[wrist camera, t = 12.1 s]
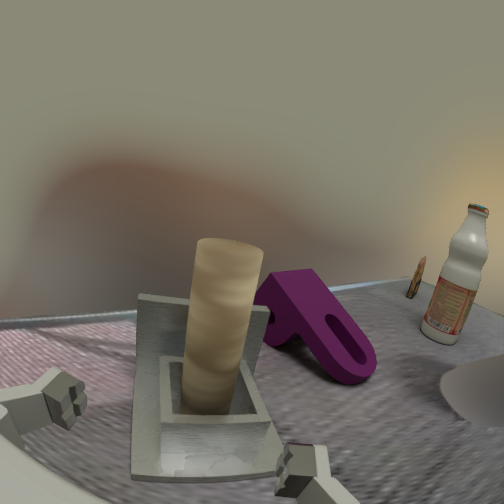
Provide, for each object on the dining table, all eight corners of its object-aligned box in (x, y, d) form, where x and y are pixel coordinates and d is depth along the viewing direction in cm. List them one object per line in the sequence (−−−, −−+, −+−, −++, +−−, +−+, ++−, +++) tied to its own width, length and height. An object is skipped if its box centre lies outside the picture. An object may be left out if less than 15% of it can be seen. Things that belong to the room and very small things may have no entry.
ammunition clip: (411, 291, 81) (423, 255, 78) (416, 293, 80) (428, 257, 77) (405, 297, 73) (419, 257, 70) (411, 299, 72) (424, 259, 69)
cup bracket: (247, 377, 30) (266, 306, 28) (289, 473, 17) (331, 399, 15) (136, 371, 26) (139, 293, 24) (132, 479, 14) (120, 401, 12)
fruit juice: (427, 342, 46) (473, 199, 39) (414, 322, 55) (452, 198, 48) (461, 348, 44) (506, 215, 38) (446, 329, 53) (483, 212, 47)
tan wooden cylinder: (221, 403, 23) (253, 242, 20) (231, 435, 20) (272, 260, 16) (177, 402, 22) (195, 235, 19) (181, 436, 18) (201, 252, 15)
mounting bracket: (345, 390, 39) (282, 303, 48) (385, 361, 34) (311, 268, 44) (310, 416, 32) (240, 312, 41) (355, 388, 28) (270, 272, 37)
